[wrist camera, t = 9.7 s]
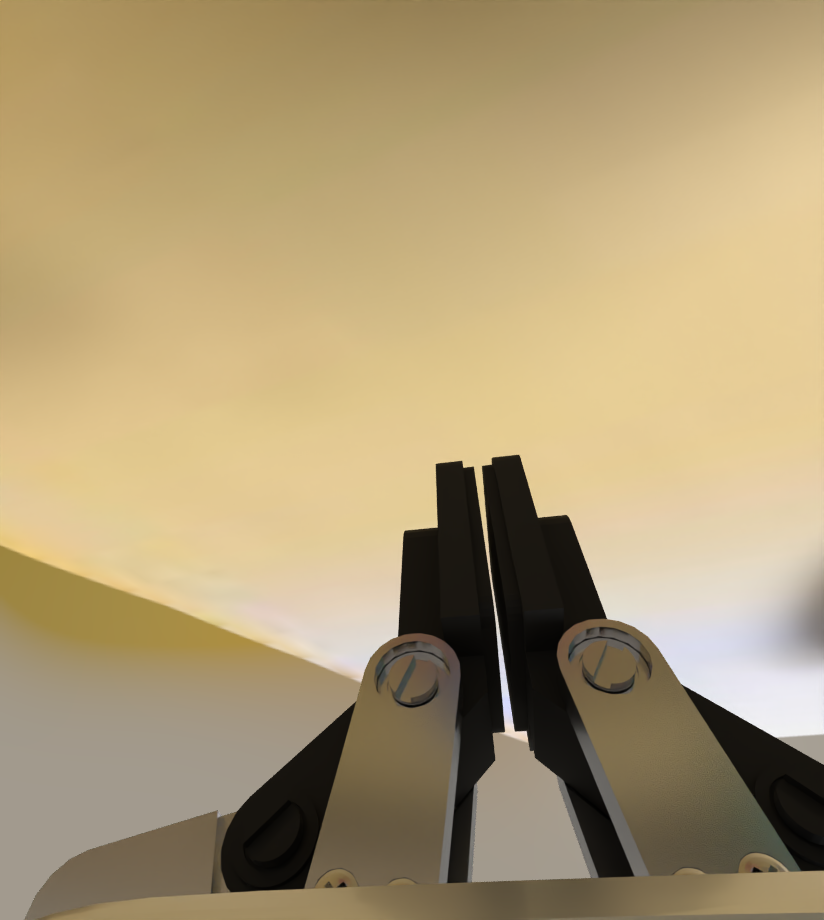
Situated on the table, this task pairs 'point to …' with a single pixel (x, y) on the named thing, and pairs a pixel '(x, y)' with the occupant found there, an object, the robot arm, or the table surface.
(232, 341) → the table surface
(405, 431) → the table surface
